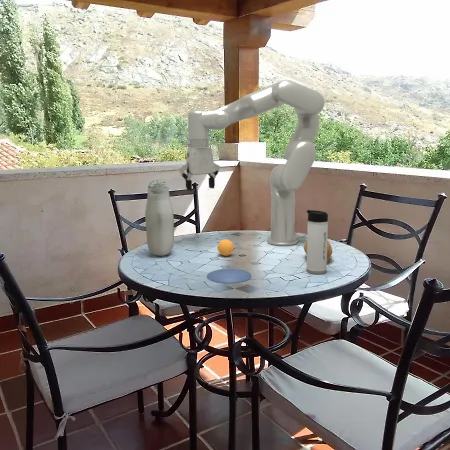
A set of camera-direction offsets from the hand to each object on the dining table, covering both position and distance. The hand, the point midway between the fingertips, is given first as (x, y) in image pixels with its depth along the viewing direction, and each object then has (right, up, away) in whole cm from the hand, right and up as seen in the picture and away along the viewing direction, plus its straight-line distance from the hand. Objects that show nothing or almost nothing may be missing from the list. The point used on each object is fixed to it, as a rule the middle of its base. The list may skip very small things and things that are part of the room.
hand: (200, 189), depth 170 cm
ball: (+10, -22, -8) cm, 26 cm away
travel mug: (+39, -29, -28) cm, 56 cm away
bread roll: (+42, -26, -15) cm, 52 cm away
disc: (+11, -30, -31) cm, 45 cm away
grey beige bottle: (-14, -25, -6) cm, 30 cm away
